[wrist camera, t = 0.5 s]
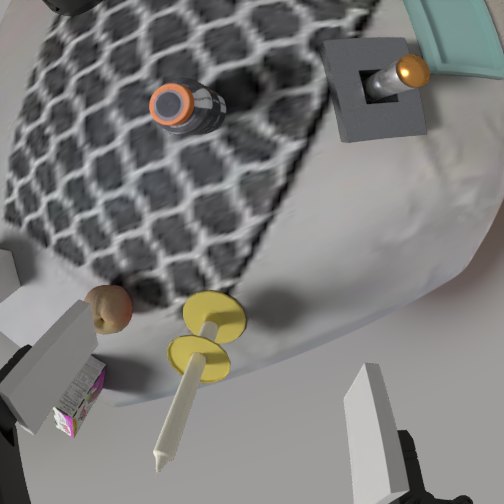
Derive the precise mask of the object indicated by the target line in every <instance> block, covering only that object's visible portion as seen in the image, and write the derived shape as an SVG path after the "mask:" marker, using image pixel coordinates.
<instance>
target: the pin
mask: <svg viewBox="0 0 504 504" xmlns="http://www.w3.org/2000/svg"><path fill="white" fill-rule="evenodd" d="M429 80H430V70H429V67H428V65H427V63H426V62H425V61H424V60H423V59H422V58H421V57H419V56H417V55H414V54H408V55H405V56H404V57H402V58H400V59H399V60H397V61H395V62H393V63H392V64H390V65H388V66H387V67H385V68H384V69H382V70H380V71H379V72H377V73H375V74H374V75H372V76H371V77H369V78H367V79H366V80H364V81H363V82H361V83H362V87H363V91H364V95H365V100H367V101H375V100H378V99H381V98H384V97H387V96H391V95H394V94H397V93H400V92H404V91H407V90H410V89H414V88H417V87H421V86H424V85H426V84H427V83H428V82H429Z"/></svg>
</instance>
